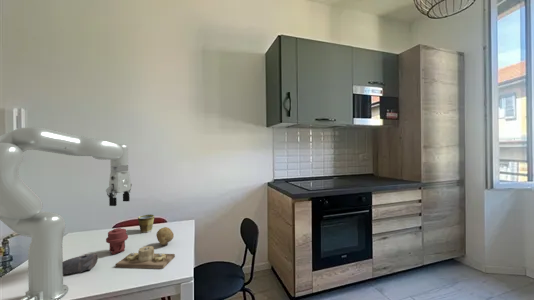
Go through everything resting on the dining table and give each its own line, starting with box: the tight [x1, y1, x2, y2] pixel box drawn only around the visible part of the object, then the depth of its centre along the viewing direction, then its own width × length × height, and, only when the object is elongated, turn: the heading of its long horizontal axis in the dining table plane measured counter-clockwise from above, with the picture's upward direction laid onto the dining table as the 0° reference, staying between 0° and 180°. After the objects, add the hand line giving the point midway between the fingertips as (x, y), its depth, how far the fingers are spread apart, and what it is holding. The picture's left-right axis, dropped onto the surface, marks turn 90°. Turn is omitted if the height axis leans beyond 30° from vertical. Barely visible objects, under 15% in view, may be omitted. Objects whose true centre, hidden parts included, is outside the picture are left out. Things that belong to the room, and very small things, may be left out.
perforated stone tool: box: [63, 253, 99, 275], centre depth 109 cm, size 15×5×7 cm, turn 115°
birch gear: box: [137, 245, 155, 262], centre depth 118 cm, size 7×7×5 cm
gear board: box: [115, 248, 176, 270], centre depth 118 cm, size 12×23×7 cm, turn 86°
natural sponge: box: [155, 226, 174, 246], centre depth 139 cm, size 9×9×10 cm
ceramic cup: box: [137, 213, 155, 234], centre depth 163 cm, size 13×10×10 cm
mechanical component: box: [105, 227, 129, 255], centre depth 130 cm, size 12×10×10 cm
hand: (119, 203), depth 120 cm, fingers open, 9 cm apart
